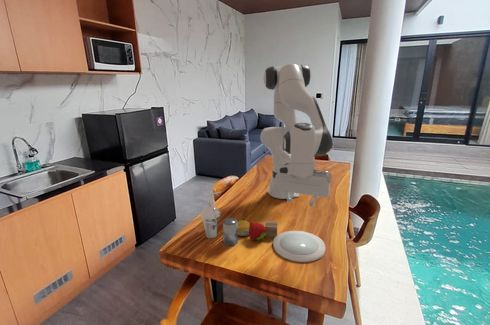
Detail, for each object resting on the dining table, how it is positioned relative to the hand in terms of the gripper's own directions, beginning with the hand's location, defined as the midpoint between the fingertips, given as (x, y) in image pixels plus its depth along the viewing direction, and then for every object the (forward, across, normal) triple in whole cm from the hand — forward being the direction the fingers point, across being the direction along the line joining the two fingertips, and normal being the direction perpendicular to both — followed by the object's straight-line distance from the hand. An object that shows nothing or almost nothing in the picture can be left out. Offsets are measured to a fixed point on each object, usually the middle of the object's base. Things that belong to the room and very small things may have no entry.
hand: (300, 204), depth 98 cm
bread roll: (+18, +28, -2) cm, 34 cm away
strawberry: (+12, +21, -1) cm, 24 cm away
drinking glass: (+18, +26, +8) cm, 33 cm away
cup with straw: (+18, +36, +7) cm, 41 cm away
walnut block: (+18, +13, -4) cm, 23 cm away
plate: (+18, 0, 0) cm, 18 cm away
